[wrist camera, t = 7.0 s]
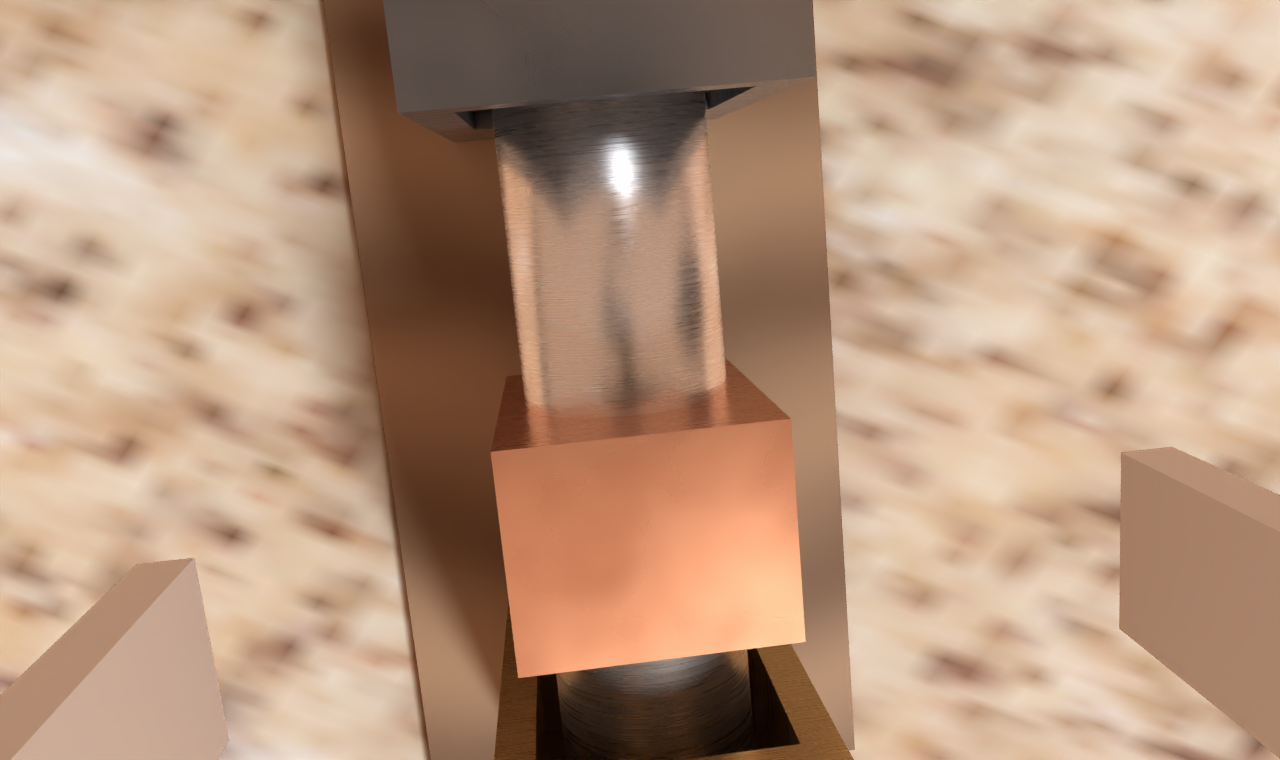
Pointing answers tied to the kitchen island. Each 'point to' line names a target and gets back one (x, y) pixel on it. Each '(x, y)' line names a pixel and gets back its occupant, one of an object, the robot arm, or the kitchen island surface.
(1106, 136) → the kitchen island surface
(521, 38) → the sleeve
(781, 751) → the socket
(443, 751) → the board
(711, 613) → the rod
